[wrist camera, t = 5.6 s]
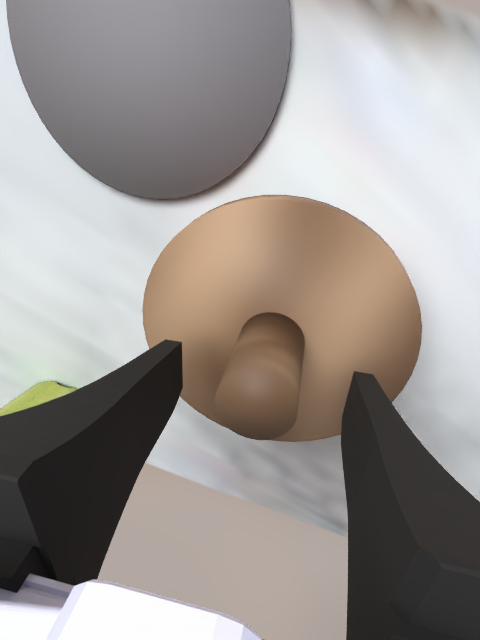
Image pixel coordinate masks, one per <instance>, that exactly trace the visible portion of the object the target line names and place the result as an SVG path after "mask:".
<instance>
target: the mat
mask: <svg viewBox="0 0 480 640" xmlns="http://www.w3.org/2000/svg"><path fill="white" fill-rule="evenodd" d="M6 4H7V19H8V26H9V32H10V39H11V44H12V48H13V52H14V56H15V60H16V64H17V67H18V70H19V73H20V76H21V78H22V81H23V84H24V86H25V89H26V91H27V93H28V95H29V98H30V100H31V102H32V104H33V106H34V108H35V110H36V111H37V113H38V115H39V117H40V119H41V120H42V122H43V124H44V125H45V126H46V128H47V129H48V131H49V132H50V134H51V135H52V137H53V138H54V139H55V140H56V142H57V143H58V144H59V145H60V146H61V148H62V149H63V150H64V151H65V152H66V153H67V154H68V155H69V156H70V157H71V158H72V159H73V160H74V161H75V162H76V163H77V164H78V165H79V166H80V167H82V168H83V169H84V170H85V171H87V172H88V173H89V174H91V175H92V176H93V177H95V178H97V179H98V180H100V181H101V182H103V183H105V184H106V185H109V186H111V187H113V188H115V189H117V190H119V191H122V192H125V193H128V194H131V195H134V196H139V197H144V198H150V199H172V198H181V197H185V196H189V195H193V194H196V193H198V192H201V191H203V190H206V189H208V188H210V187H212V186H214V185H215V184H217V183H218V182H220V181H222V180H223V179H225V178H227V177H228V176H229V175H230V174H232V173H233V172H234V171H235V170H236V169H238V168H239V167H240V166H241V165H242V164H243V163H244V162H245V161H246V159H247V158H248V157H249V156H250V155H251V154H252V153H253V151H254V150H255V149H256V147H257V146H258V144H259V143H260V142H261V140H262V139H263V137H264V135H265V133H266V132H267V130H268V128H269V126H270V124H271V122H272V120H273V118H274V115H275V113H276V110H277V108H278V105H279V103H280V100H281V96H282V93H283V89H284V85H285V82H286V77H287V71H288V64H289V58H290V43H291V19H290V3H289V0H6Z"/></svg>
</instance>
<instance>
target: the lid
mask: <svg viewBox="0 0 480 640" xmlns="http://www.w3.org/2000/svg"><path fill="white" fill-rule="evenodd" d="M143 325H144V330H145V335H146V340H147V343H148V346H149V349H151V348H152V347H154V346H155V345H157V344H159V343H160V342H162V341H164V340H165V339H167V340H173V341H179V342H182V369H183V388H182V391H181V393H180V397H181V398H182V399H183V400H184V401H186V402H187V403H188V404H189V405H190V406H192V407H193V408H194V409H195V410H197V411H198V412H200V413H201V414H203V415H204V416H206V417H207V418H209V419H210V420H212V421H214V422H216V423H218V424H220V425H222V426H224V427H226V428H229V429H230V430H232V431H233V432H235V433H237V434H239V435H241V436H244V437H247V438H251V439H256V440H274V441H290V442H297V441H311V440H317V439H323V438H328V437H331V436H335V435H339V434H341V427H342V414H343V411H344V407H345V403H346V399H347V396H348V392H349V388H350V384H351V380H352V377H353V373H354V371H357V372H362V373H368V374H373V375H374V376H375V378H376V379H377V381H378V383H379V384H380V386H381V387H382V389H383V391H384V392H385V394H386V395H387V397H388V398H389V400H390V402H391V403H392V402H393V401H394V399H395V398H396V397H397V396H398V394H399V393H400V392H401V391H402V389H403V388H404V386H405V385H406V383H407V381H408V380H409V378H410V376H411V374H412V372H413V369H414V367H415V364H416V362H417V359H418V355H419V350H420V346H421V334H422V323H421V313H420V307H419V304H418V300H417V296H416V293H415V290H414V288H413V286H412V284H411V281H410V279H409V277H408V275H407V273H406V271H405V269H404V267H403V265H402V263H401V262H400V260H399V259H398V257H397V256H396V254H395V253H394V251H393V250H392V249H391V248H390V247H389V245H388V244H387V243H386V242H385V241H384V240H383V239H382V238H381V237H380V236H379V235H378V234H377V233H376V232H375V231H373V230H372V229H371V228H370V227H369V226H367V225H366V224H365V223H364V222H362V221H360V220H359V219H357V218H355V217H354V216H352V215H351V214H349V213H347V212H345V211H343V210H341V209H338V208H336V207H334V206H331V205H329V204H327V203H323V202H320V201H316V200H312V199H309V198H304V197H297V196H289V195H262V196H255V197H247V198H243V199H239V200H236V201H232V202H229V203H226V204H223V205H221V206H219V207H217V208H214V209H212V210H210V211H208V212H207V213H205V214H203V215H202V216H200V217H199V218H197V219H196V220H194V221H193V222H191V223H190V224H189V225H188V226H187V227H185V228H184V229H183V230H182V231H181V232H180V233H178V234H177V235H176V236H175V237H174V238H173V239H172V240H171V241H170V243H169V244H168V245H167V246H166V247H165V248H164V250H163V251H162V252H161V254H160V256H159V257H158V259H157V261H156V262H155V264H154V266H153V268H152V271H151V273H150V275H149V278H148V281H147V285H146V289H145V293H144V301H143Z"/></svg>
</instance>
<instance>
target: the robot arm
mask: <svg viewBox="0 0 480 640" xmlns="http://www.w3.org/2000/svg"><path fill="white" fill-rule="evenodd" d="M182 388H183V369H182V342H179V341H173V340H167V339H165V340H164V341H162V342H160V343H159V344H157V345H155V346H154V347H152V348H151V349H149V350H148V351H146V352H145V353H143V354H141V355H140V356H138V357H137V358H135V359H133V360H132V361H130V362H129V363H127V364H125V365H124V366H122V367H120V368H118V369H117V370H115V371H113V372H111V373H109V374H108V375H106V376H104V377H102V378H100V379H99V380H97V381H95V382H93V383H91V384H89V385H86V386H84V387H82V388H80V389H78V390H75V391H73V392H71V393H68V394H66V395H63V396H61V397H58V398H55V399H53V400H50V401H47V402H45V403H42V404H39V405H36V406H33V407H30V408H27V409H24V410H21V411H17V412H14V413H10V414H7V415H3V416H0V640H263V639H260V637H259V635H258V634H257V632H255V631H254V630H253V629H251V628H250V627H249V626H248V625H246V624H245V623H244V622H243V621H242V620H239V619H237V618H235V617H232V616H230V615H227V614H225V613H223V612H220V611H217V610H213V609H210V608H206V607H202V606H199V605H195V604H192V603H188V602H185V601H180V600H177V599H173V598H170V597H166V596H162V595H159V594H155V593H151V592H148V591H145V590H141V589H137V588H134V587H130V586H127V585H123V584H119V583H116V582H111V581H103V580H97V578H98V575H99V572H100V569H101V566H102V564H103V561H104V558H105V555H106V553H107V551H108V548H109V545H110V542H111V540H112V537H113V535H114V532H115V530H116V527H117V525H118V522H119V520H120V517H121V515H122V513H123V510H124V507H125V505H126V503H127V500H128V498H129V495H130V493H131V491H132V489H133V486H134V484H135V482H136V479H137V477H138V475H139V473H140V471H141V469H142V467H143V465H144V463H145V461H146V459H147V458H148V456H149V454H150V452H151V451H152V449H153V447H154V445H155V443H156V442H157V440H158V438H159V436H160V435H161V433H162V431H163V429H164V427H165V426H166V424H167V422H168V420H169V418H170V417H171V415H172V413H173V411H174V409H175V406H176V404H177V401H178V399H179V396H180V393H181V391H182ZM341 449H342V459H343V470H344V479H345V489H346V499H347V509H348V602H347V606H348V607H347V637H346V638H347V639H346V640H480V502H479V501H478V500H477V499H476V498H474V497H473V496H472V495H471V494H470V493H469V492H468V491H467V490H466V489H465V488H464V487H463V486H461V485H460V484H459V483H458V482H457V481H456V480H455V479H454V478H453V477H452V476H451V475H450V474H449V473H448V472H447V471H446V470H445V469H444V468H443V467H442V466H441V465H440V464H439V463H438V462H437V461H436V459H435V458H434V457H433V456H432V455H431V454H430V453H429V452H428V451H427V450H426V448H425V447H424V446H423V445H422V444H421V443H420V441H419V440H418V439H417V438H416V436H415V435H414V434H413V433H412V431H411V430H410V429H409V427H408V426H407V425H406V423H405V422H404V420H403V419H402V418H401V416H400V415H399V413H398V412H397V411H396V409H395V408H394V406H393V405H392V403H391V402H390V400H389V398H388V397H387V395H386V394H385V392H384V391H383V389H382V387H381V386H380V384H379V383H378V381H377V379H376V378H375V376H374V375H373V374H368V373H362V372H357V371H354V373H353V377H352V380H351V384H350V388H349V392H348V396H347V399H346V403H345V407H344V411H343V414H342V427H341Z"/></svg>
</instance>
